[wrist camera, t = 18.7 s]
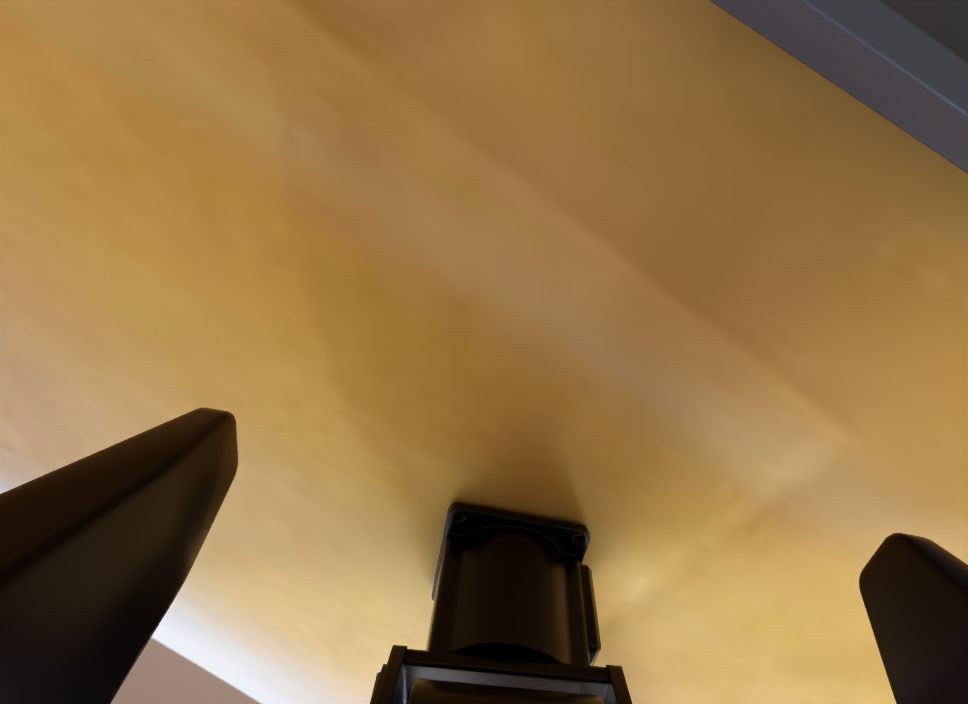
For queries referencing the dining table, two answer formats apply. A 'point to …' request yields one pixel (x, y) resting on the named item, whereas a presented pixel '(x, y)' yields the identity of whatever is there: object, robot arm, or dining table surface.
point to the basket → (881, 57)
